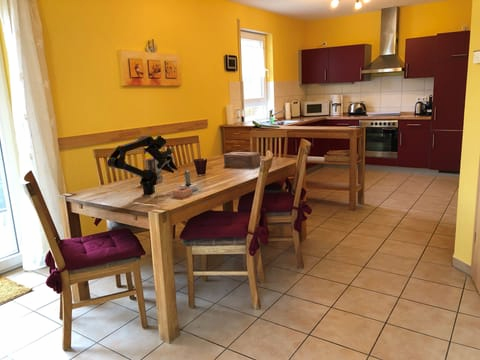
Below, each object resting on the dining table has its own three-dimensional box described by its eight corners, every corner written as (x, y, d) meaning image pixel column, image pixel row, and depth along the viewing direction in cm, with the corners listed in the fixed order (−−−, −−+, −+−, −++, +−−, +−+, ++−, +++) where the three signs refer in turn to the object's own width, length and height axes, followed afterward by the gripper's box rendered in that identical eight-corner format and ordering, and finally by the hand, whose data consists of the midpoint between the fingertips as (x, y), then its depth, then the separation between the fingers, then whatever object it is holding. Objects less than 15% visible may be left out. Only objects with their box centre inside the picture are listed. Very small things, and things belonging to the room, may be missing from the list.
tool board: (185, 200, 216) (184, 198, 215) (162, 198, 224) (162, 196, 223) (207, 191, 234) (207, 189, 234) (186, 189, 242) (185, 187, 242)
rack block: (184, 197, 218) (183, 191, 217) (173, 196, 222) (172, 190, 221) (192, 194, 225) (192, 188, 224) (181, 193, 229) (181, 187, 228)
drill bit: (189, 191, 233) (187, 171, 230) (185, 190, 234) (183, 171, 232) (192, 190, 235) (190, 170, 233) (188, 189, 237) (186, 170, 234)
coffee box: (163, 181, 269) (161, 158, 265) (157, 183, 264) (154, 160, 260) (153, 180, 274) (151, 157, 270) (147, 182, 268) (144, 159, 265)
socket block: (190, 192, 229) (189, 186, 229) (179, 191, 233) (179, 185, 233) (198, 189, 236) (197, 183, 235) (187, 188, 240) (187, 182, 239)
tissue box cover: (260, 164, 314) (260, 152, 312) (252, 168, 302) (252, 155, 299) (233, 163, 326) (232, 151, 324) (224, 166, 314) (223, 154, 312)
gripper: (160, 145, 221) (180, 164, 222) (168, 141, 239) (187, 158, 240) (148, 159, 223) (168, 178, 224) (157, 155, 241) (175, 171, 243)
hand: (175, 171), depth 233 cm, fingers open, 9 cm apart
